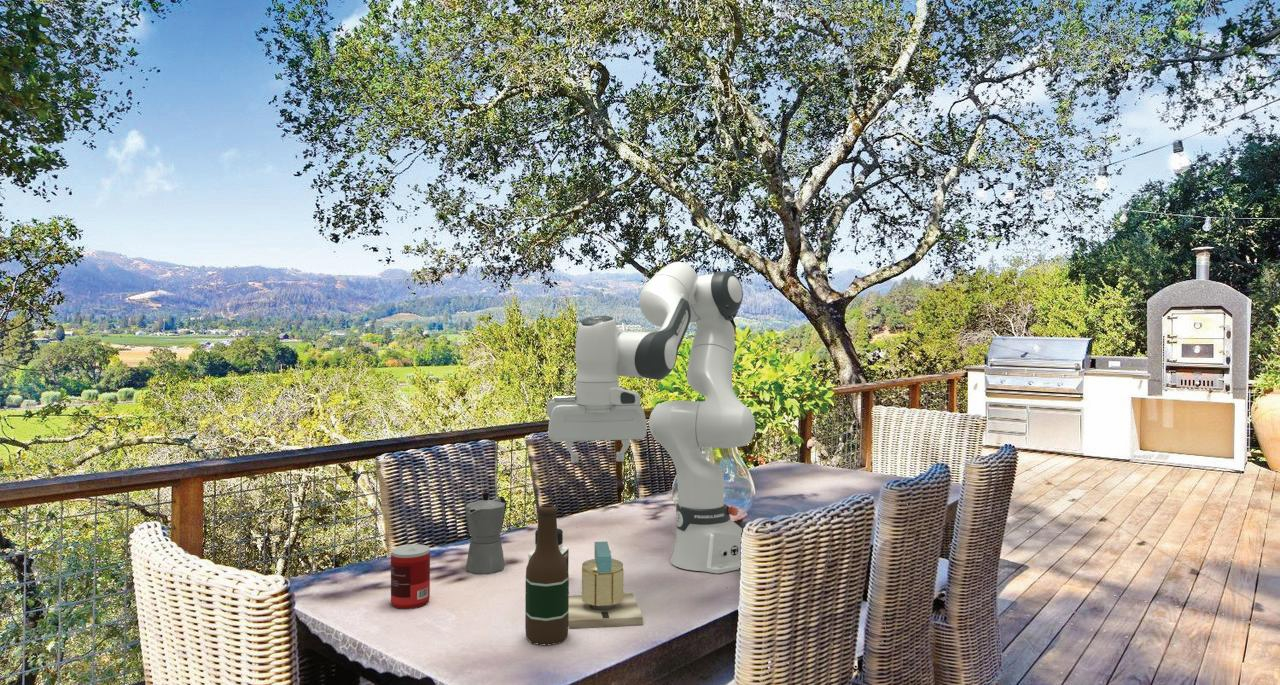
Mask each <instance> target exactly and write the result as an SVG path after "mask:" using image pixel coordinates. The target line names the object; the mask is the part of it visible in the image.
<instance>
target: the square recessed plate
mask: <svg viewBox="0 0 1280 685" xmlns="http://www.w3.org/2000/svg"><path fill="white" fill-rule="evenodd" d="M629 625H630V626H641V625H642V626H643V625H644V617H643V614H642V612H641V609H640V608H639V604H638V602H637V600H636V598H635V595H634V593H633V592H628V593H627V592H623V601H621V602H619V603H617V604H614V605H612V604H611V605H603V606H596V605H595V606H594V605H591V604H588V603H584V602H582V594H578V595H569V614H568V629H569V628H570V629H587V628H586V627H590V628H605V627H604V626H610V627H626V626H629ZM580 627H581V628H580Z"/></svg>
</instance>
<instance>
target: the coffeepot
mask: <svg viewBox="0 0 1280 685" xmlns="http://www.w3.org/2000/svg"><path fill="white" fill-rule="evenodd" d="M481 494H482V499H481V500H477V501H472V502H468V503H467V504H466V506H465V513H466V520H467V521H466V522H467V528H468V533H469V535H470V542H469V548H468V553H467V558H466V564H465V571H466V572H468V573H469V574H474V575H493V574H496V573H500V572H503V570H504V569H505V566H506V564H505V557H504V551H503V546H502V540H501V538H500V537H501V533H502V530H503V526H504V522H505V521H504V520H505V514H506V509H507V501H506V498H505V496H498V497H495V498H492V499H489V497H490V496H489V495H490V492H488V491H485V492H482V493H481ZM492 573H493V574H492Z"/></svg>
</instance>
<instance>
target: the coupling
mask: <svg viewBox="0 0 1280 685" xmlns="http://www.w3.org/2000/svg"><path fill="white" fill-rule="evenodd" d="M581 565H582V566H581V595H582V602H584V603H588V604H591V605H594V606H595V605H596V606H603V605H611V604H612V605H614V604H617V603H619V602H621V601H623V593H624V574H625V571H624V564H623V561H620V560H618V559H614V558H612V552H611V550H610V546H609V543H608V541H594V558H593V559H592V558H591V559H588V560H585V561H584V562H582V564H581Z"/></svg>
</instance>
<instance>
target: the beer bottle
mask: <svg viewBox="0 0 1280 685" xmlns="http://www.w3.org/2000/svg"><path fill="white" fill-rule="evenodd" d="M536 512H537V514H538V519H537V520H538V521H537V529H538V532H537V544H536V547H535V548H534V549H535V552H534V553H533V555H532V556H531V558H530V559H529V558H528V562H527V565H526V568H525V599H524V600H525V608H524V609H525V615H524V616H525V619H524V620H525V621H524V622H525V623H524V625H525V626H524V627H525V637H526V639H527V638H528V639H529V640H530V641H531V642H532V643H538V644H537V645H540V644H545V645H544V646H549V645H548V644H551V645H554V644H553V643H556V644H560V643H559V642H561V643H562V642H563V641H564V640H565V639H567V637H568V636H569V625H568V614H569V596H570V595H569V593H570V590H569V589H570V588H569V584H570V582H569V580H570V579H569V578H570V577H569V576H570V574H569V565H568V566H567V563H566V560H565V558H564V556H563V555H562V553H561V552H560V550H559V545H558V535H557V528H558V523H557V522H558V521H557V520H558V519H557V513H558V512H559V509H558V506H556V505H554V504H541V505H540V506H538V507H537V510H536ZM528 639H527V640H528ZM529 640H528V641H529ZM530 641H529V642H530ZM531 642H530V643H531ZM532 643H531V644H532Z"/></svg>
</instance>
